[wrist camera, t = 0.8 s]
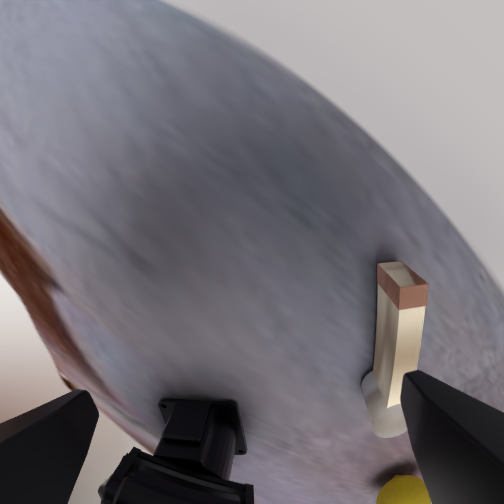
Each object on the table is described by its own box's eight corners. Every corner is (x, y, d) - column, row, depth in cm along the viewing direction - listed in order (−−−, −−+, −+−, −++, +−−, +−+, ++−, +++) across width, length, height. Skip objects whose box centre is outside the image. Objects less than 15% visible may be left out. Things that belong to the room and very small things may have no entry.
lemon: (428, 467, 23) (447, 521, 15) (388, 492, 24) (400, 545, 17) (403, 455, 23) (422, 517, 15) (361, 482, 24) (370, 542, 16)
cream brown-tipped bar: (396, 393, 20) (412, 432, 16) (359, 400, 20) (370, 441, 16) (410, 259, 18) (441, 283, 13) (365, 264, 18) (387, 290, 14)
